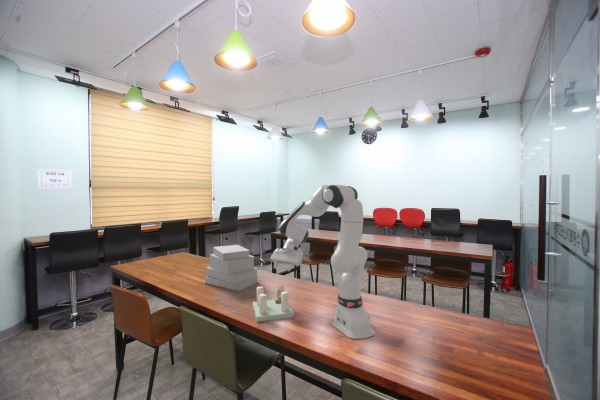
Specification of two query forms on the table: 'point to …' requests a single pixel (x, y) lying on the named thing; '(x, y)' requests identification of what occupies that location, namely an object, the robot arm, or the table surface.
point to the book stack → (231, 268)
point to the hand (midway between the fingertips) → (281, 269)
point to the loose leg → (279, 293)
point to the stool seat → (271, 307)
